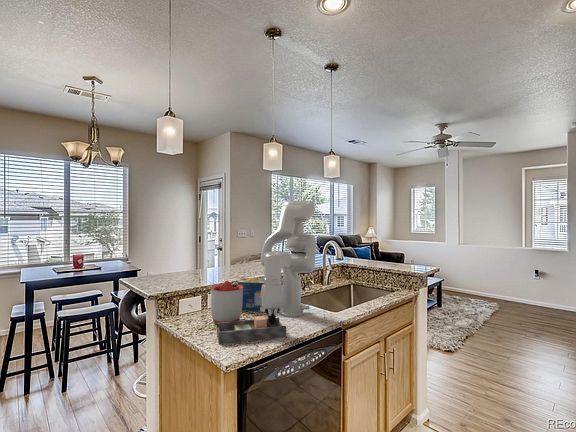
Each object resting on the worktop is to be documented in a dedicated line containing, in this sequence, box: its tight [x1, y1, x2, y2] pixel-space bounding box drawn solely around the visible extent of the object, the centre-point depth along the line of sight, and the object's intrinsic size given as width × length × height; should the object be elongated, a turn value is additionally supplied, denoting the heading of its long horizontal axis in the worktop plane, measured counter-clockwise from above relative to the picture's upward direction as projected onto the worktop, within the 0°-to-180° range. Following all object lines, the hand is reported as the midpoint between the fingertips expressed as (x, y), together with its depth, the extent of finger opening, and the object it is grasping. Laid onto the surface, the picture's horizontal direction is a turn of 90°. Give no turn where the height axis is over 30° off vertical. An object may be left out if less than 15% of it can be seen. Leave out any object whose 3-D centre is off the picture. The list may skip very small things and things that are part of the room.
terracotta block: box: [253, 315, 267, 328], centre depth 134 cm, size 4×4×4 cm
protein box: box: [237, 277, 264, 312], centre depth 173 cm, size 10×15×16 cm
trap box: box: [216, 317, 287, 345], centre depth 133 cm, size 28×12×4 cm, turn 107°
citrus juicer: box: [210, 280, 243, 325], centre depth 150 cm, size 16×17×20 cm
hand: (271, 323), depth 136 cm, fingers closed
